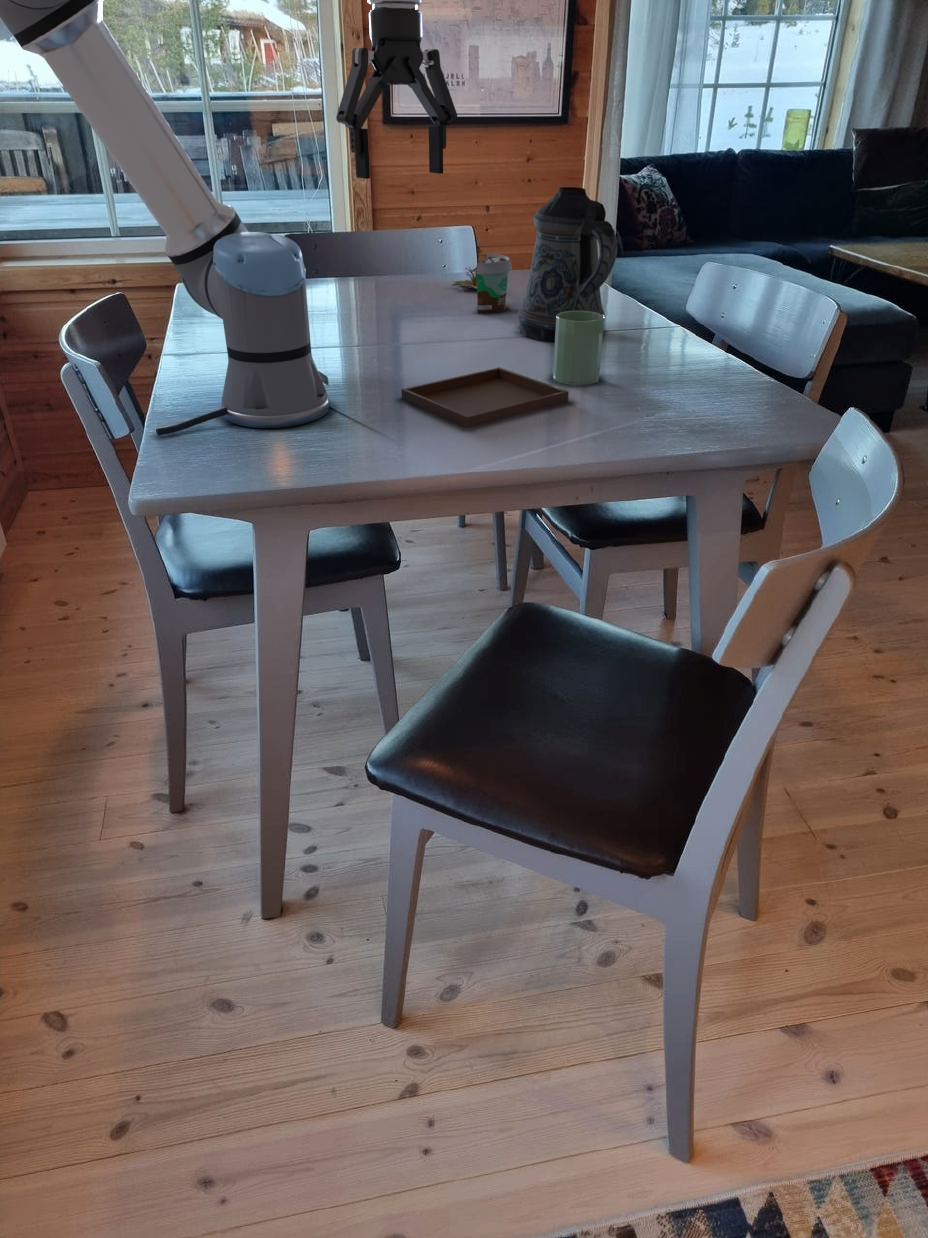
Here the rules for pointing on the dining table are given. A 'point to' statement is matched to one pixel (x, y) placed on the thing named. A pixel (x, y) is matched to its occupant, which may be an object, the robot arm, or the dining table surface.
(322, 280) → the dining table surface
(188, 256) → the robot arm
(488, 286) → the food container
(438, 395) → the tray
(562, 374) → the cup
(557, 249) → the beer stein
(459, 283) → the lily flower
